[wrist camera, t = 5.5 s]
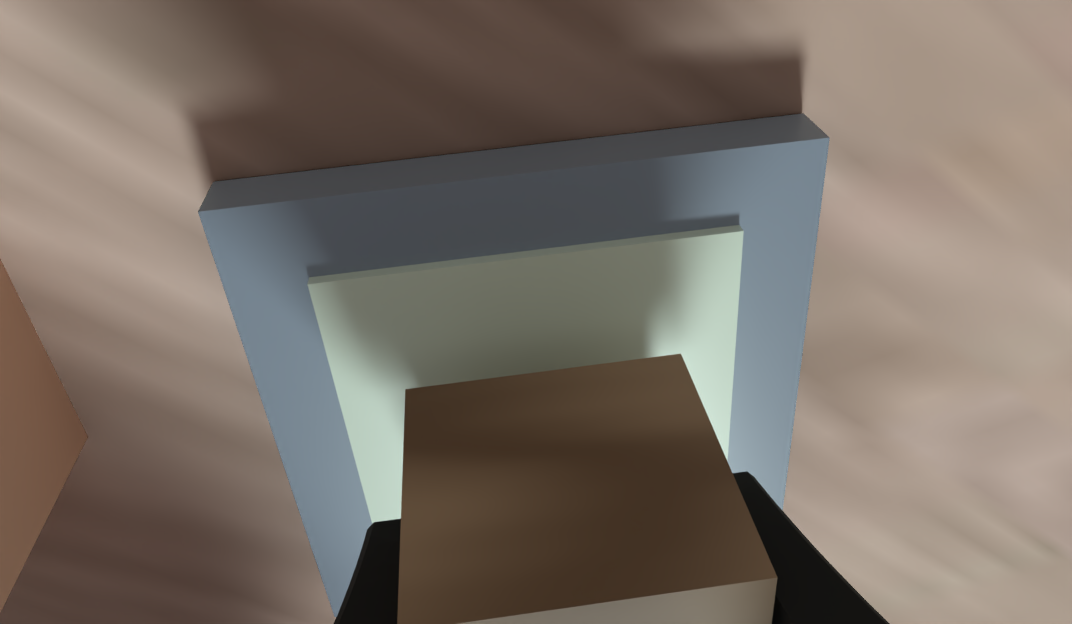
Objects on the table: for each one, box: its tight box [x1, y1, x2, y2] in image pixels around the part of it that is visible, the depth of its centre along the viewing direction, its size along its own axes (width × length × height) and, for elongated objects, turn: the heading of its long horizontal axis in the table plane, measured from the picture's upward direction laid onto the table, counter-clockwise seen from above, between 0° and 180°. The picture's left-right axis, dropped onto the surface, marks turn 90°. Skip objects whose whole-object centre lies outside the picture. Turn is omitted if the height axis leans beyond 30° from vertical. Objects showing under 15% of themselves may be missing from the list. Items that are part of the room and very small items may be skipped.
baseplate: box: [198, 114, 829, 617], centre depth 15 cm, size 9×9×1 cm
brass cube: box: [397, 354, 777, 624], centre depth 11 cm, size 4×4×4 cm
